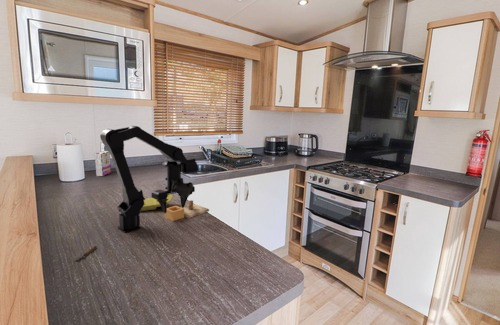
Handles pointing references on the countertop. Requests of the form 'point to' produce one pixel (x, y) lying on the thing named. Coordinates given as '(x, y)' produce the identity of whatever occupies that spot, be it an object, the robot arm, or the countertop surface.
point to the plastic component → (153, 203)
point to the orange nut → (174, 213)
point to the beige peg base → (193, 209)
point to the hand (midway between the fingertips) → (174, 210)
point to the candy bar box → (102, 163)
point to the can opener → (87, 253)
